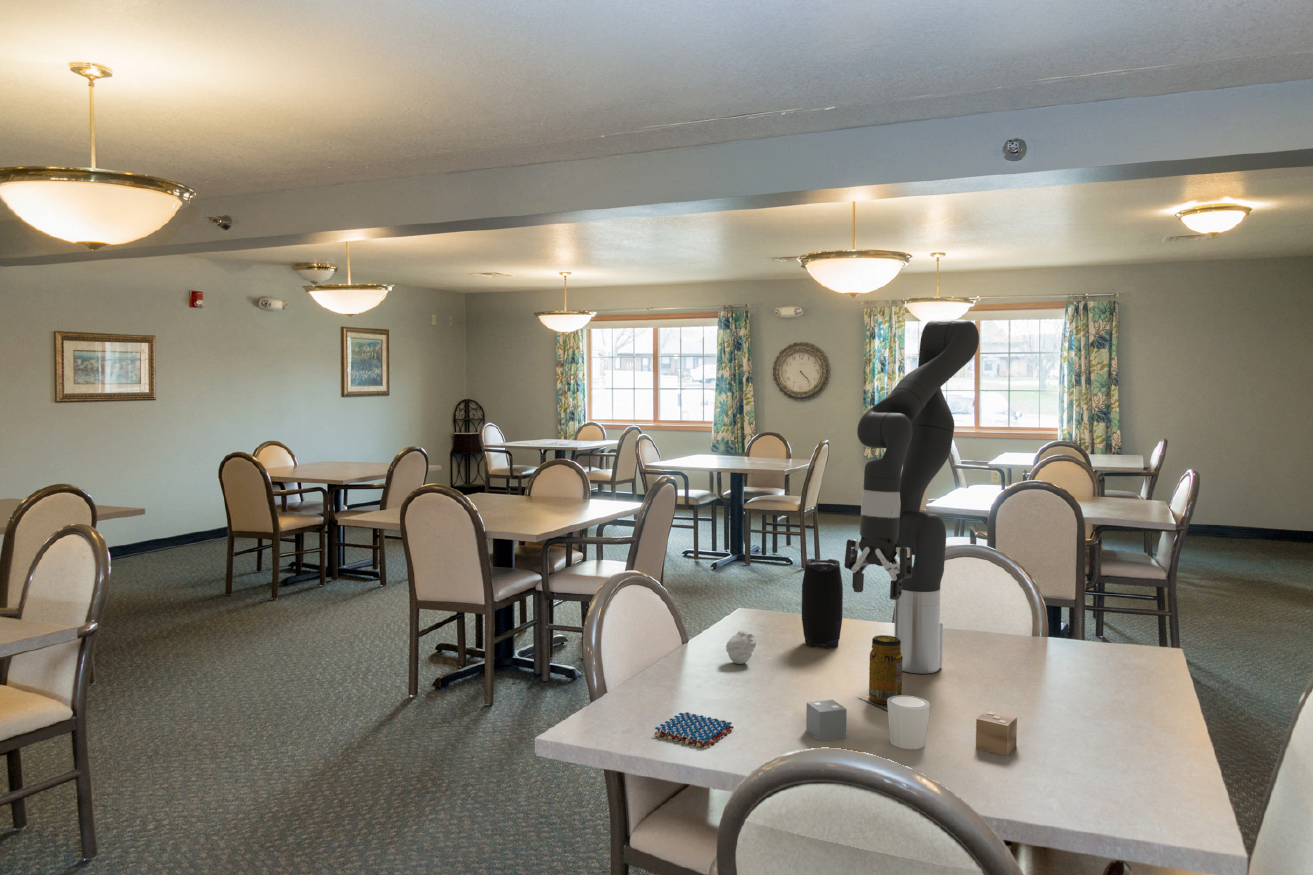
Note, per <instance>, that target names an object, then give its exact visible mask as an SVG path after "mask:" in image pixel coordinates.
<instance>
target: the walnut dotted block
mask: <svg viewBox="0 0 1313 875" xmlns="http://www.w3.org/2000/svg"><path fill="white" fill-rule="evenodd" d="M975 719H976V724H975V749H978V750H981V751H986V752H989V753H990V752H991V753H993V752H994V754H997V753H998V755H1002V756H1007V757H1008V756H1009V755H1010V753H1011V752H1013V751H1014V749H1015V748H1016V747H1017V743H1018V742H1017V739H1018V738H1017V734H1018V716H1014V715H1010V714H1006V713H999V712H995V711H990V710H985V711H984V712H982V713H981V715H979V716H978V717H977V718H975Z"/></svg>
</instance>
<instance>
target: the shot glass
mask: <svg viewBox="0 0 1313 875" xmlns="http://www.w3.org/2000/svg"><path fill="white" fill-rule="evenodd" d="M887 705H888V710H887V716H888V717H887V718H888V727H889V728H888V729H889V740H890V744H891V745H893V746H895V747H898V748H901V749H905V750H919V749H921V748H924V747H926V742H927V741H926V740H927V731H928V723H929V714H930V706H931V705H930V702H929V700H926V699H924V698H921V697H918V696H913V695H905V694H904V695H903V694H902V695H899V696H893V697H890V698H888V699H887Z"/></svg>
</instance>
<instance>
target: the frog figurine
mask: <svg viewBox="0 0 1313 875" xmlns="http://www.w3.org/2000/svg"><path fill="white" fill-rule="evenodd" d="M756 645H757V639H756V636H755V635H754V634H752V632H749V631H747V630H745V629H744V630H738V632H736V634H734V635H732V636H731V638H730V639H729V640H728V641H727V642H726V646H725V647H726V649H725V651H726V652H727V654H728V657H729V659H730V660H731V662H733V663H734V664H738V665H744V664H745V663H747V662H749V660H751V657H752V656H753V654H752V653H753V652H754V650H755V648H756Z"/></svg>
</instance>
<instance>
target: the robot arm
mask: <svg viewBox="0 0 1313 875" xmlns="http://www.w3.org/2000/svg"><path fill="white" fill-rule="evenodd" d="M979 335H980V334H979V329H978V327H977V326H976V324H975V323H974V322H973V321H971V320H968V319H967V320H966V319H936V320H935V319H934V320H930V321H928V322H926V324H925V326H923V329H922V332H921V336H920V342H919V350H918V361H917V362H918V363H917V367H916V368H914V369H913V370H912V371H910V372H908V373H907V374H906V375H905V376H904V377H902V378H901V379H900V380H899V382H898V383H897V385H895V387H894V388H893V389H892V391H891V392H890V393H889V395H888V396H887V397H885V398H883V399H882V400H880V401H879V402H878V403H876V404H875V405H874V406H872V407H871V408H869V409H868V410H867V411H866V412H865V413H864V414H863V415H862V416H861V418H860V420H859V422H858V425H857V430H856V431H857V433H856V434H857V438H858V440H859V442H860V443H861V444H862V445H863V446H865V447H868V448H872V449H873V448H876V449H885V450H884V453H883V455H882V457H881V458H879V459H874V460H870V461H868V462H866V464H865V466H864V471H863V472H864V474H863V489H862V496H861V506H860V519H859V520H860V523H859V524H860V525H859V527H860V528H859V535H860V536H861V537H860V540H859V539H857V538H852V539H851V538H850V539H847V540H846V545H845V546H846V547H845V554H844V555H845V556H844V568H845V569H848V570H849V571H851V572H852V582H851V583H852V585H851V587H852V589H853V592H854V593H862V592H863V591H864V582H865V580H864V579H865V573H863V572H864V571H865V570H866V569H867V567H868V566H870V565H876V566H879V567H883V568H884V570H885V571H886V572H887V573H888V575H889V576H890V578H891V580H890V585H889V586H890V587H889V588H890V589H889V590H890V591H889V599H890V600H891V601H894V633H893V634H894V636H893V637H897V638H899V639H900V641H901V644H900V647H901V650H900V652H901V654H902V656H903V660H902V672H906V673H911V674H922V675H923V674H924V675H925V674H933V673H936V672H938V671H939V670H940V669H941V668H943V638H944V637H943V636H944V635H943V634H944V633H943V632H944V631H943V630H944V628H943V627H944V625H943V623H942V622H941V585H942V584H941V583H942V579H943V576H944V574H945V573H944V572H945V558H946V550H947V549H946V547H947V529H946V525H945V522H944V520H943V519H942V518H941V517H940V516H939V515H937V514H935V513H930V512H929V513H928V512H923V511H922V512H921V511H920V510H921V505H922V501H923V497H924V495H925V492H926V489H927V488H928V487H929V484H930V483H931V482H932V480H933V479H934V478H935V477H936V476H937V474H939V472H940V470H941V469H942V468H943V467H944V465H945V463H946V462H947V460H948V459H949V456H950V453H951V450H952V446H953V445H952V444H953V439H954V438H953V437H954V432H955V420H954V416H953V414H952V411H951V409H950V407H949V405H948V402H947V400H946V398H945V396H944V394H943V390H942V388H941V387H943V386H944V385H945V384H946V383H947V382H948V381H949V380H950V379H951V378H952V377H954V376H955V375H956V374H957V373H958V372H959V371H960V370H961V369H963V367H965V366H966V365H967V364H968V363H969V362H970V361H971V360H972V358H973V357H974V356H975V355H976V353H977V351H978V349H979V348H978V347H979V343H980V336H979ZM973 359H974V358H973ZM859 550H860V552H861V554H860V555H859ZM858 555H859V556H858ZM896 556H897V557H898V558H899V561H898V559H897V557H896ZM913 557H914V559H913Z"/></svg>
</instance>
